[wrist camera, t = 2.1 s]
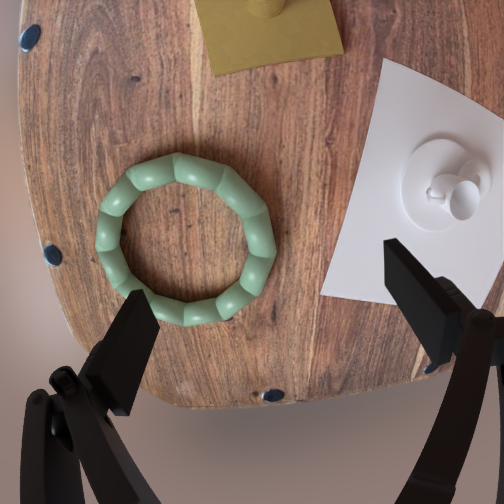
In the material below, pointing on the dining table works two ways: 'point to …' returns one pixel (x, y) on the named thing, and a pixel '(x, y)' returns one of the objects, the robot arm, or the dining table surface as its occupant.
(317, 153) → the dining table surface
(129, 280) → the ring
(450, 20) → the dining table surface
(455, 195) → the teacup and saucer
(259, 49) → the post
